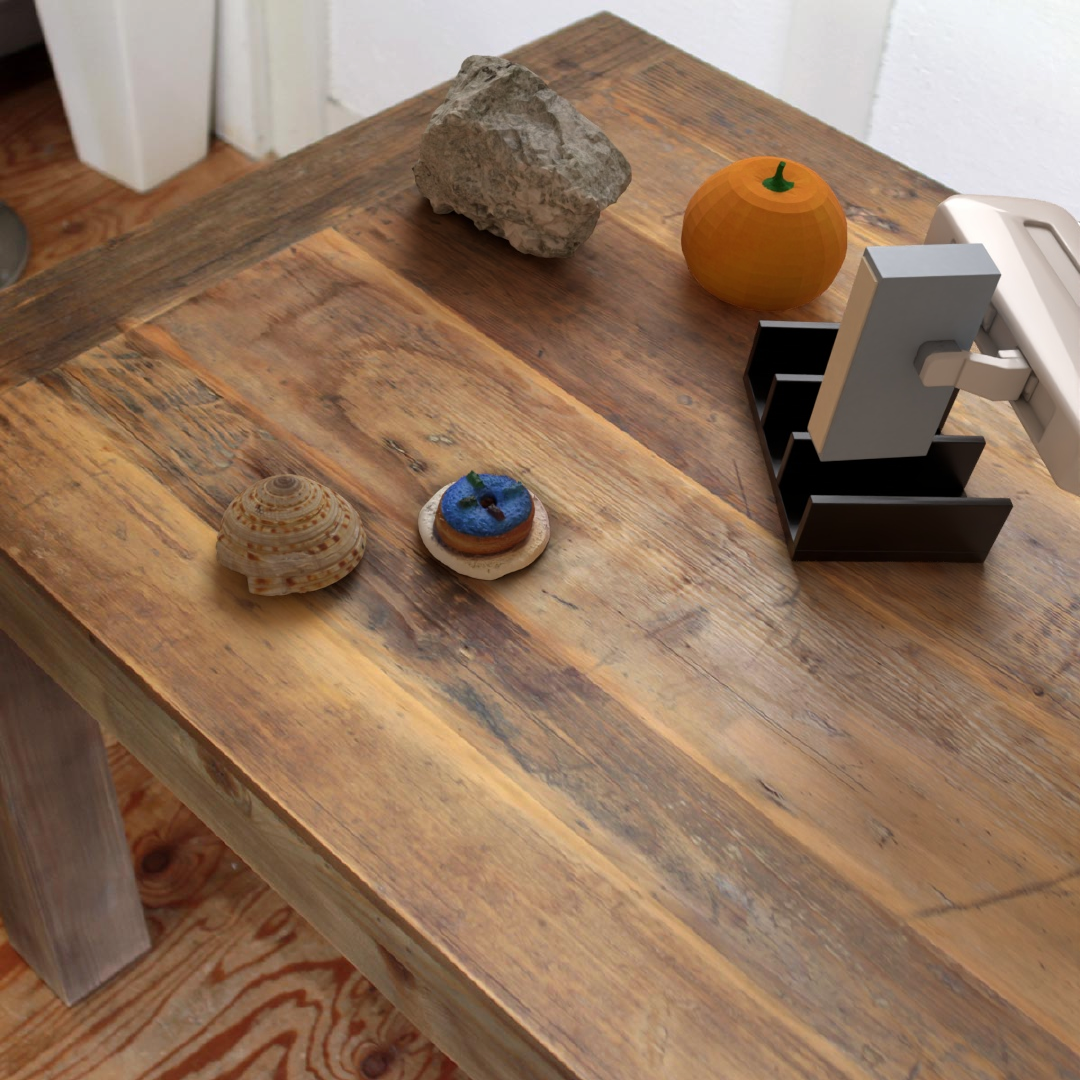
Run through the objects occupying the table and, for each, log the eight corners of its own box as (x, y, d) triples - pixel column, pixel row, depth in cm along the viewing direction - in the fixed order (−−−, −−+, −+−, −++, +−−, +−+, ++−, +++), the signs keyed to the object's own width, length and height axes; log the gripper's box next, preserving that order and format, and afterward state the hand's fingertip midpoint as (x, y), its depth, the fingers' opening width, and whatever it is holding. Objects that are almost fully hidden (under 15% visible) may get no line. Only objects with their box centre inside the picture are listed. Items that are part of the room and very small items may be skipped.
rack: (913, 383, 91) (936, 325, 88) (984, 563, 80) (1014, 506, 77) (742, 378, 90) (758, 319, 86) (791, 561, 79) (812, 503, 75)
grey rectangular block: (926, 455, 72) (1002, 274, 63) (817, 462, 71) (879, 278, 62) (910, 424, 73) (982, 242, 65) (804, 429, 72) (862, 245, 64)
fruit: (844, 338, 94) (885, 217, 86) (679, 326, 93) (706, 203, 85) (818, 239, 102) (854, 121, 94) (666, 227, 101) (690, 107, 93)
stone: (577, 237, 88) (389, 126, 90) (569, 317, 100) (404, 217, 102) (652, 131, 90) (467, 24, 92) (636, 221, 102) (473, 125, 104)
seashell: (191, 577, 71) (226, 440, 73) (212, 607, 76) (244, 478, 79) (343, 601, 71) (373, 463, 73) (354, 630, 76) (381, 500, 79)
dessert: (469, 596, 74) (445, 494, 72) (411, 579, 79) (387, 483, 77) (582, 548, 78) (562, 451, 76) (520, 536, 83) (500, 444, 81)
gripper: (1095, 163, 74) (858, 167, 71) (1289, 417, 60) (1006, 431, 58) (1052, 257, 78) (829, 264, 76) (1224, 512, 65) (960, 529, 63)
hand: (907, 338), depth 67 cm, fingers closed on grey rectangular block, 2 cm apart
